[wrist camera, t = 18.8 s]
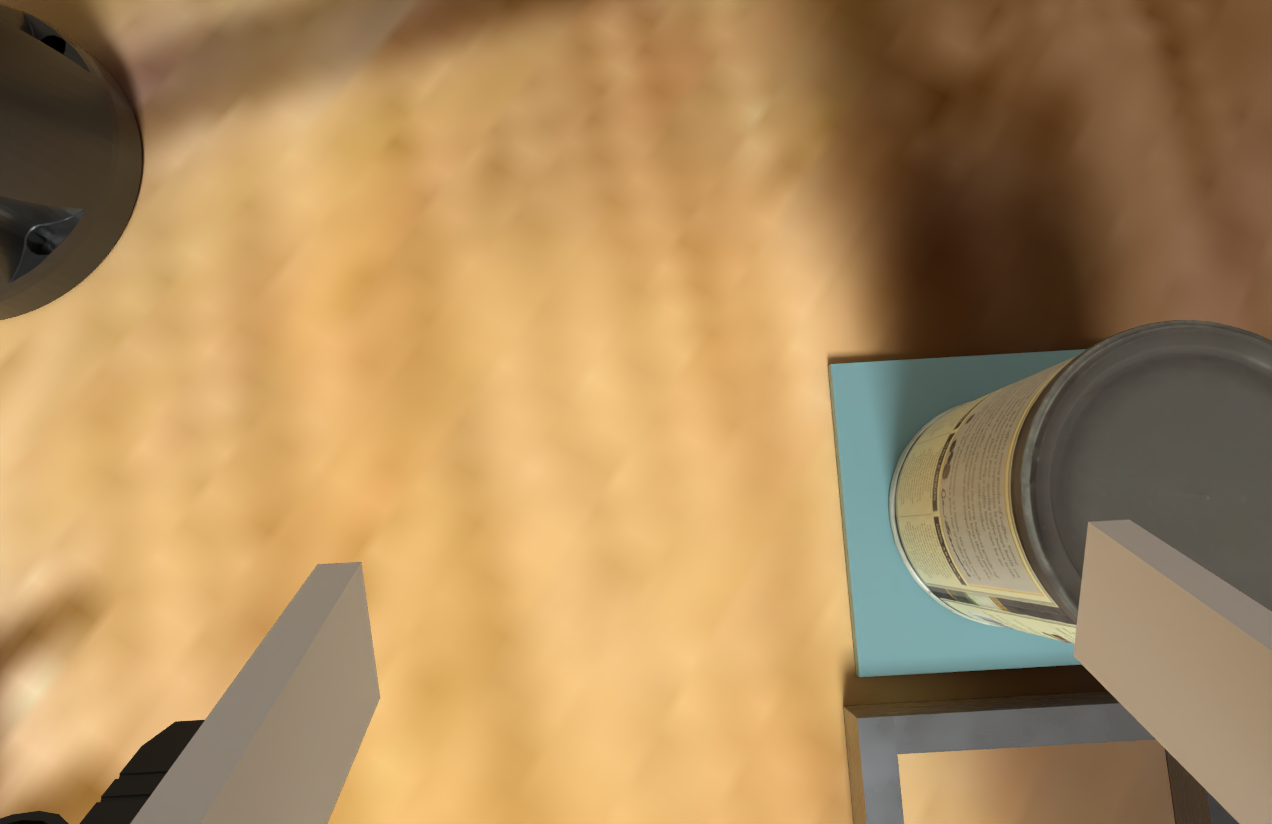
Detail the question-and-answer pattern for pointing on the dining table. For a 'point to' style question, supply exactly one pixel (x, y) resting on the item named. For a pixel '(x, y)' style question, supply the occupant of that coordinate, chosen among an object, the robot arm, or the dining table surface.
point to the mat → (866, 461)
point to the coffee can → (1093, 474)
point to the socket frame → (994, 743)
